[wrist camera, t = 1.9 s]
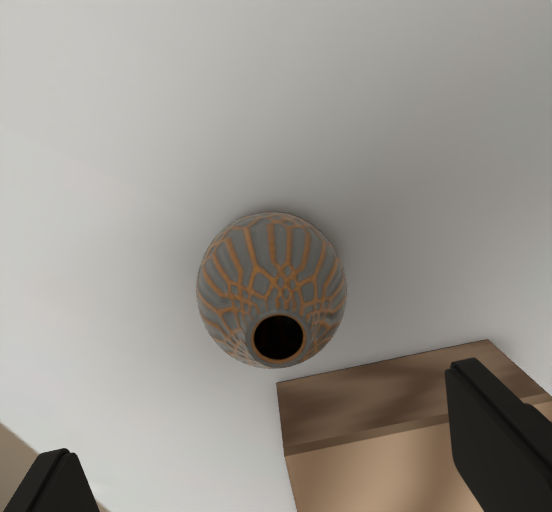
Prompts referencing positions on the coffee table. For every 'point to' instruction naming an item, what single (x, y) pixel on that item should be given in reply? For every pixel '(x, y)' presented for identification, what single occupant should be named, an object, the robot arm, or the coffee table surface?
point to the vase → (271, 290)
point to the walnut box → (385, 433)
